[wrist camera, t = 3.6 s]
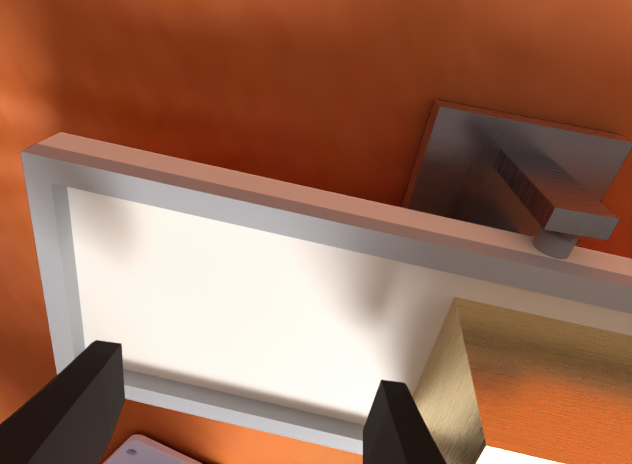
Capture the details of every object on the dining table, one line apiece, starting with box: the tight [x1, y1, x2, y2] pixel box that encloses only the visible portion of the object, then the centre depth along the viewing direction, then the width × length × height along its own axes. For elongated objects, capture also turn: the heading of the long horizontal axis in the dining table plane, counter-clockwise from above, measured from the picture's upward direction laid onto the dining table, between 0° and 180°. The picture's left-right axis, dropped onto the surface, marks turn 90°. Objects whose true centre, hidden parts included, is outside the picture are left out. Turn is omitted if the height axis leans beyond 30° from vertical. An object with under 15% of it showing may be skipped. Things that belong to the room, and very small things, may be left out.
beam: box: [20, 132, 632, 455], centre depth 14 cm, size 27×9×2 cm, turn 80°
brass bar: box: [413, 297, 632, 464], centre depth 11 cm, size 8×5×4 cm, turn 80°
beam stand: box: [401, 99, 632, 246], centre depth 15 cm, size 6×13×5 cm, turn 170°
